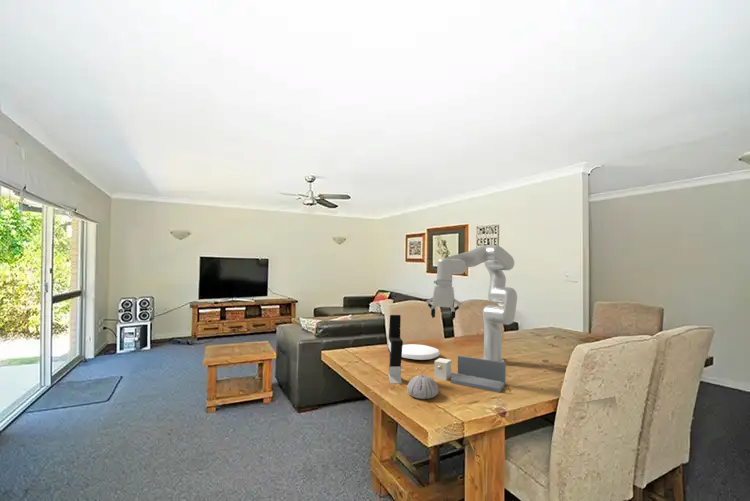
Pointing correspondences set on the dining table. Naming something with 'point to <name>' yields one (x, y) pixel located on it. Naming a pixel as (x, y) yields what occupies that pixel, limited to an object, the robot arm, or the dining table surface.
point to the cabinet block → (442, 369)
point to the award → (395, 349)
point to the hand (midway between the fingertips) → (443, 318)
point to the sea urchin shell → (422, 387)
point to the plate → (419, 352)
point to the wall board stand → (480, 373)
